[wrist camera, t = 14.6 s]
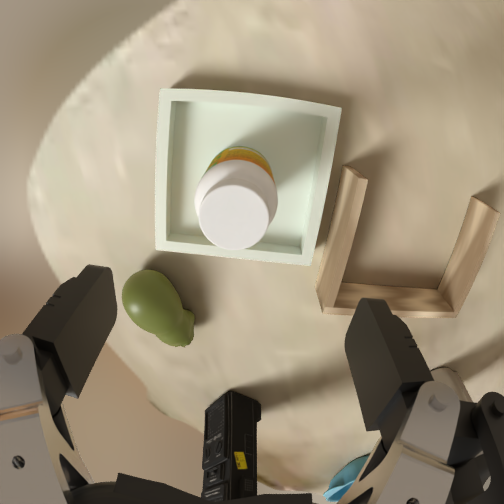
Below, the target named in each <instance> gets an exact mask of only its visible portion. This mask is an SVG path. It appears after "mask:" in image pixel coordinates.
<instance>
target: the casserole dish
mask: <svg viewBox="0 0 504 504" xmlns="http://www.w3.org/2000/svg"><path fill="white" fill-rule="evenodd" d="M368 457H369V455H368V456H363V457H360V458H357V459H355V460H353V461H352V462H350V463H349V464H348V465H347V466H345V467H344V468H343V469H342V470H341V471H340V472H339V473H338V474H337V475H336V476H335V477H334V478H333V479H332V480H331V482H330V485H329V489H328V490H327V491H326V492H325V493H324V494H323V496H324V497H326V500H327V501H330V502H338V501H339V500H340V499H341V498H342V496H343V495H344V494H345V493H346V492H347V491H348V490H349V488H350V487H351V486H352V484H353V483H354V481H355V480H356V478H357V476H358V475H359V473H360V471H361V470H362V468H363V466H364V464H365V463H366V461H367V459H368Z"/></svg>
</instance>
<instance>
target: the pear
mask: <svg viewBox="0 0 504 504" xmlns="http://www.w3.org/2000/svg"><path fill="white" fill-rule="evenodd" d="M122 302H123V306H124V308H125V310H126V312H127V314H128V315H129V317H130V318H131V319H132V321H133V322H134V323H135V324H136V325H138V326H139V327H140V328H142V329H143V330H145V331H147V332H150V333H152V334H155V335H156V336H157V337H158V338H159V339H160V340H161V341H162V342H164V343H166V344H168V345H170V346H175V347H177V346H182V347H185V346H186V345H189V344H190V343H191V341H192V340H193V337H194V320H195V316H194V314H193V313H192V312H191V311H188V310H185V309H183V308H182V303H181V300H180V298H179V295H178V293H177V292H176V290H175V288H174V287H173V285H172V284H171V282H170V281H169V280H168V278H167V277H166V276H164V275H163V274H162V273H160V272H158V271H155V270H142V271H139V272H136V273H135V274H133V275H132V276H131V277H130V278H129V279H128V280H127V281H126V283H125V285H124V287H123V290H122Z"/></svg>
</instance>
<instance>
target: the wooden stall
mask: <svg viewBox="0 0 504 504" xmlns="http://www.w3.org/2000/svg"><path fill="white" fill-rule="evenodd" d="M367 183H368V179H367V178H365V177H364V176H363V175H361V174H360V173H359V172H357V171H356V170H355V169H353V168H352V167H350V166H344V165H343V167H342V172H341V177H340V182H339V187H338V192H337V196H336V201H335V206H334V210H333V215H332V219H331V224H330V228H329V232H328V236H327V241H326V245H325V249H324V253H323V257H322V261H321V265H320V269H319V273H318V277H317V281H316V284H315V289H316V292H317V295H318V299H319V302H320V306H321V309H322V313H323V314H334V315H354V313H355V310H356V308H357V305H358V303H359V301H360V299H361V298H375V299H384V300H385V301H386V302H387V304H388V306H389V308H390V310H391V312H392V314H393V315H397V316H398V317H419V318H456V317H457V315H458V313H459V311H460V309H461V307H462V305H463V303H464V301H465V299H466V297H467V295H468V293H469V291H470V289H471V287H472V284H473V282H474V280H475V278H476V276H477V273H478V271H479V269H480V266H481V264H482V262H483V259H484V257H485V254H486V252H487V249H488V247H489V244H490V242H491V239H492V236H493V233H494V231H495V228H496V225H497V222H498V219H499V216H500V213H499V212H498V211H496V210H495V209H493V208H492V207H490V206H489V205H487V204H486V203H484V202H482V201H481V200H479V199H477V198H476V197H472V196H471V200H470V203H469V206H468V210H467V213H466V216H465V219H464V222H463V225H462V228H461V231H460V234H459V237H458V239H457V242H456V245H455V248H454V250H453V253H452V255H451V258H450V261H449V263H448V266H447V268H446V270H445V273H444V275H443V278H442V280H441V282H440V285H439V287H438V289H422V288H408V287H394V286H381V285H368V284H355V283H343V282H341V281H342V278H343V274H344V271H345V268H346V264H347V261H348V257H349V254H350V250H351V247H352V243H353V239H354V236H355V232H356V228H357V224H358V220H359V216H360V212H361V208H362V204H363V200H364V196H365V192H366V187H367Z"/></svg>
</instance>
